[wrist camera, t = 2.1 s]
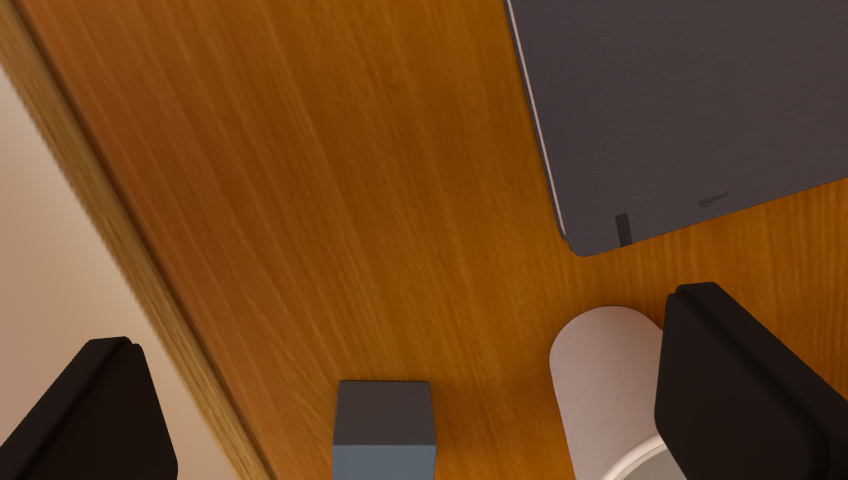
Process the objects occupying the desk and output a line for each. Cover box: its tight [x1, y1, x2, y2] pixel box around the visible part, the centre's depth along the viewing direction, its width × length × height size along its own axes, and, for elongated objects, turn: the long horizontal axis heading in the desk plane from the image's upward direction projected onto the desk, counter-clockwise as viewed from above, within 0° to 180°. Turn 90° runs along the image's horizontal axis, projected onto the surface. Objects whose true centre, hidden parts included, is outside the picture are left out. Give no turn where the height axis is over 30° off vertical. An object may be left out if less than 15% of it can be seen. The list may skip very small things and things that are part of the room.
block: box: [332, 381, 437, 480], centre depth 28 cm, size 4×4×4 cm
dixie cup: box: [549, 306, 687, 480], centre depth 25 cm, size 8×8×10 cm
